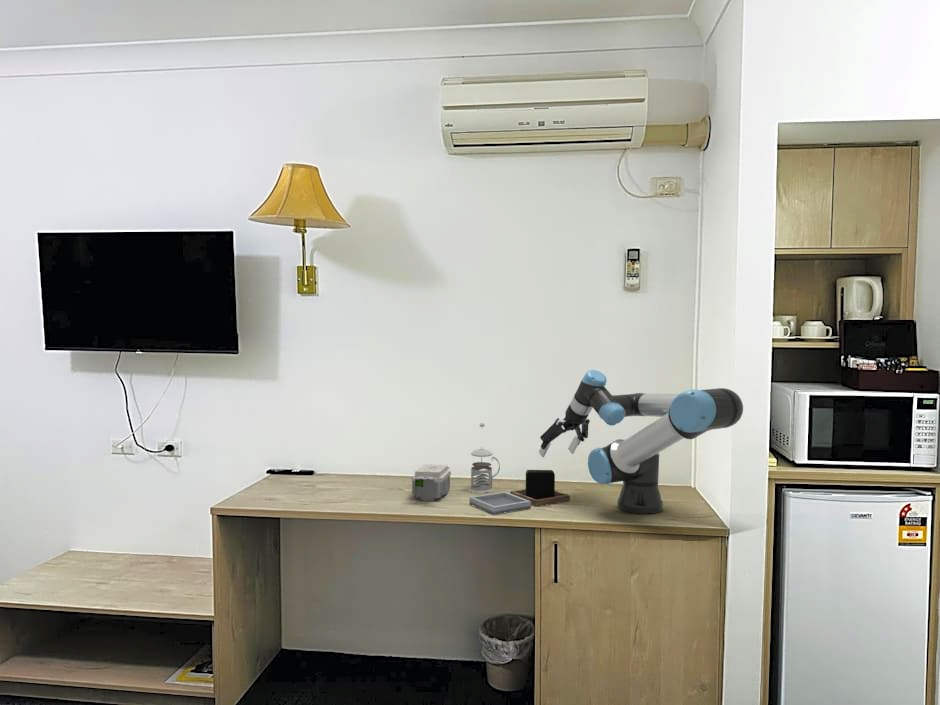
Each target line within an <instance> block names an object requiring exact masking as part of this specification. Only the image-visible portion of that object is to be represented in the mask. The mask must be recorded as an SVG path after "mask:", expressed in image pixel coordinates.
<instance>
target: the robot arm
mask: <svg viewBox="0 0 940 705" xmlns="http://www.w3.org/2000/svg"><path fill="white" fill-rule="evenodd" d="M607 382H608V380H607V377H606V375H605V373H602V371H599V370H596V369H590V370H587V371H586V373H585V374H584V376H583V378H581V381H580V383H579V385H578V388H577V390H576V392H575V393H574V395H573V397H572V399H571V401H570V403H569V404H568V407H567V408H566V410H565V416H564V418H563V419H560V418H559V417H558V418H556V419H555V421H554V423H553V424H552V425H550V427H549V428H548V429H546V431H545V432H543V434H541V436H540V437H539V438H540V440H541V441H542V442H541V445H540V449H539V450H538V454H540V456H541V458H545V456H546V454H547V452H548V450H549V448H550V446H551V444H552V443H551V442H552V441H554V440H556V438H558V437H559V436H560V435H563V434H565V433H566V432H568V431H569V432H570V431H575V433H576V435H575V436H574V437H573V439H572V440H571V442H570V444H569V445H568V448H567V450H568V451H569V453H570V454H574V453H575V451H576V449H577V448H578V446H579V445H580V443H581V442H585V440H586V439H588V438H589V424H590V423H591V420H590V419H589V418H588V417H589V414H591V412H592V409H594V411H595V412H596V413H597V415H598V416H599V417H600V419H601V420H603V421H604V423H605V424H606V425H608V426H610V427H611V426H615V425H617V424H620V423H621V422H622V421H623V420H624V418H626V417H656V418H657V417H659V418H658V419H656V420H655V421H653V422H652V423H650V424H648V425H647V426H645V427H644V428H642V429H640V430H638V431H637V432H636V433H634V434H633V435H631V436H629V437H627V438H626V439H622V438H619V439H616V440H614V441H613V442H611V443H609V444H607V445H606V446H603V447H596V448H594V449H592V450H591V451H590V452H589V453H588V454H589V455H588V456H587V457H588V458H587V467H588V472H589V474H590V476H591V478H592V479H593V481H595V482H596V483H597V484H600V485H609V484H613V483H619V482H622V487H621V489H620V494H619V497H618V498H617V502H616V503H617V504H616V505H617V508H618V509H619V510H621V511H624V512H627V513H632V514H633V513H634V514H641V513H642V514H643V513H644V514H645V515H646V514H648V513H651V514H657V513H661V512H662V511H663V510H664V502H663V500H662V497H661V492H660V488H659V472H660V471H659V469H660V468H659V467H660V466H659V465H660V453H661V452H662V451H664V450H666V449H667V448H669V447H671V446H673V445H675V444H677V443H678V442H680V441H681V440H683V439H685V440H694V439H696V438H698V437H699V436H701V435H703V434H705V433H707V432H708V431H711V430H718V429H719V430H720V429H726V428H730V427H732V426H734V425H735V424H737V423H738V422H739V421H740V420H741V419H742V417H743V413H744V412H743V411H744V404H743V401H742V399H741V397H740V396H739V395H738V394H737V392H735V391H733V390H732V389H729V388H723V387H721V388H720V387H718V388H708V389H690V390H685V391H682V392H680V393H646V392H645V393H644V392H636V393H628V394H617V395H616V394H615V395H614V394H613V395H612V393H611V392H610V391H609V390H608V389H607V388H606V387H605V386H606V384H607ZM580 426H581V427H580ZM648 515H649V514H648Z"/></svg>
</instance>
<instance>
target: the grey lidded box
mask: <svg viewBox="0 0 940 705" xmlns="http://www.w3.org/2000/svg"><path fill="white" fill-rule="evenodd" d="M449 469H450V467H448V464H429V463H427V464H425V463H424V464H423V465H422V466H421V467H418V468H417V469H416V470H415V471H414V475H413V476H411V481H412V482H411V493H412V494H413V497H414V498H415V499H419V500H421V501H436V500H437V499H440V498H442V496H445V495H446V494H447V493H448V492H449V490H448V489H450V490H451V475H452V472H451V470H449Z"/></svg>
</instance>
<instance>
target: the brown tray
mask: <svg viewBox="0 0 940 705" xmlns="http://www.w3.org/2000/svg"><path fill="white" fill-rule="evenodd" d="M509 491H510V490H509ZM510 494H513V495H515V496H518V497H521V498H523V499H526V500H529V501H531V506H533V505H534V506H533V507H536V506H537V507H542V506H541V505H543V506H546V504H548V505H553V504H552V503H554V504H559V503H558V502H560V503H565V502H564V501H566V502H570V501H571V494H568V493H565V492H562V491H559V490H556V489H555V497H551V498H545V499H538V500H536V499H533V498H530V497H528V496H526V488H523V489H516V490H511V491H510ZM569 500H570V501H569Z"/></svg>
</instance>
